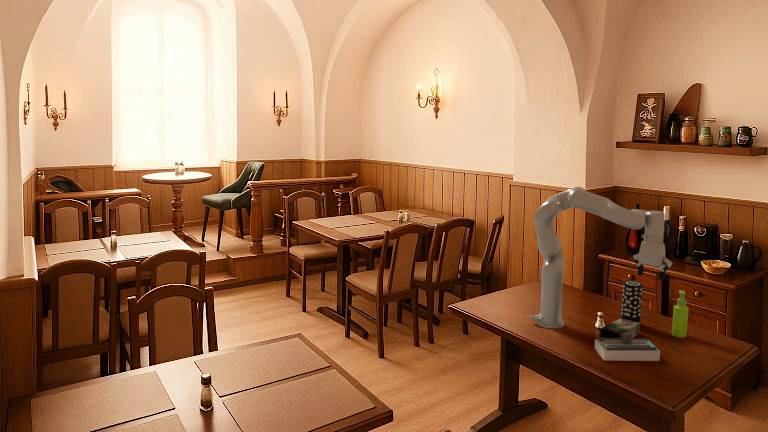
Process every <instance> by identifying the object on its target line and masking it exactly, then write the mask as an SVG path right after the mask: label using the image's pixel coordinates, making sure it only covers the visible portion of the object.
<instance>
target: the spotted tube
mask: <svg viewBox="0 0 768 432" xmlns="http://www.w3.org/2000/svg"><path fill="white" fill-rule="evenodd" d="M622 284H623V285H622V296H621V312H620V319H625V320H630V321H633V322H637V323H639V324H640V325H641V315H642V313H641V312H642V303H643V301H642V300H643V298H642V297H643V287H644V285H643V283H642V282H640V281H635V280H625V281H623V283H622Z"/></svg>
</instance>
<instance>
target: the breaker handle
mask: <svg viewBox="0 0 768 432" xmlns="http://www.w3.org/2000/svg"><path fill="white" fill-rule="evenodd" d="M631 338H632V335H631V334H630V333H624V334H623V344H631Z"/></svg>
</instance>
